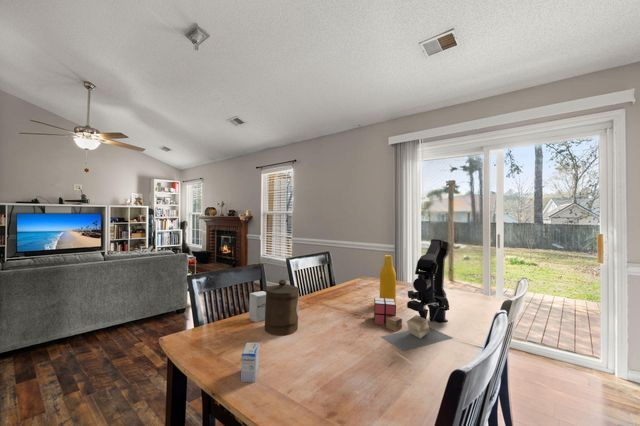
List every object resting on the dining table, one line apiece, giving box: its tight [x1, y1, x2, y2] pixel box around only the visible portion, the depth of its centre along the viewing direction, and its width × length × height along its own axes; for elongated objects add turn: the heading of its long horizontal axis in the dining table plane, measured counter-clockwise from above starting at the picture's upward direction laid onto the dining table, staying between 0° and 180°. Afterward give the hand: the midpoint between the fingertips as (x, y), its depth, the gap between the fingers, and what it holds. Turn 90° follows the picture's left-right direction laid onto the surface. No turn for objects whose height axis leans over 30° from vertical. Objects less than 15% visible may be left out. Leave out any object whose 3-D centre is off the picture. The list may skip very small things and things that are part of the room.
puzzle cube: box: [373, 297, 397, 325], centre depth 138 cm, size 10×10×10 cm
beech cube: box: [406, 314, 430, 339], centre depth 121 cm, size 6×6×6 cm
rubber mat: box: [380, 326, 454, 352], centre depth 119 cm, size 28×14×1 cm, turn 117°
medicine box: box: [240, 342, 260, 383], centre depth 89 cm, size 8×4×9 cm, turn 5°
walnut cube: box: [385, 315, 403, 332], centre depth 129 cm, size 5×5×5 cm
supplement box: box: [248, 290, 266, 323], centre depth 138 cm, size 7×7×13 cm
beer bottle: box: [379, 254, 397, 305], centre depth 163 cm, size 9×9×29 cm
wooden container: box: [264, 279, 299, 336], centre depth 127 cm, size 15×15×22 cm
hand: (427, 322), depth 123 cm, fingers open, 4 cm apart
